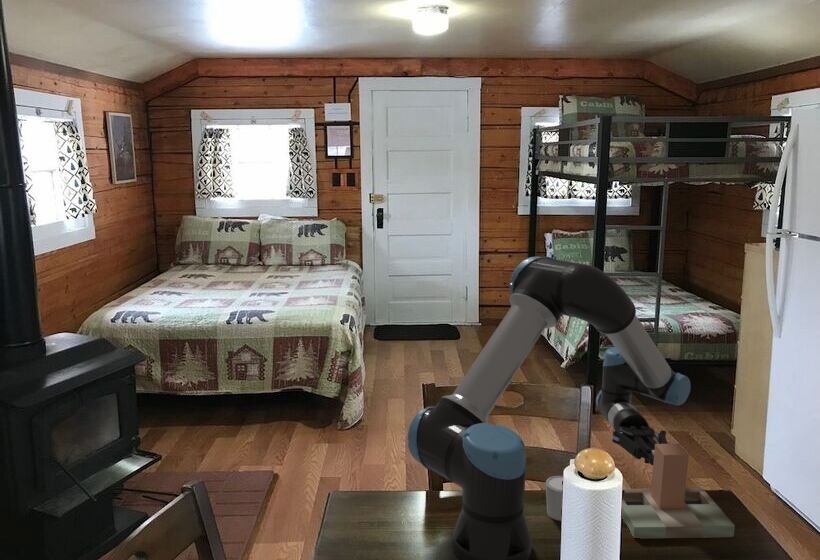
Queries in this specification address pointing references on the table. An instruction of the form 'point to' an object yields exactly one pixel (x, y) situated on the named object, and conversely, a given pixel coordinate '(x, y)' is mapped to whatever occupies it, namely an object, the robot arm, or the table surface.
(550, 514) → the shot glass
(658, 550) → the table surface
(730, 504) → the table surface
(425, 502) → the table surface
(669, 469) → the block
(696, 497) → the board
